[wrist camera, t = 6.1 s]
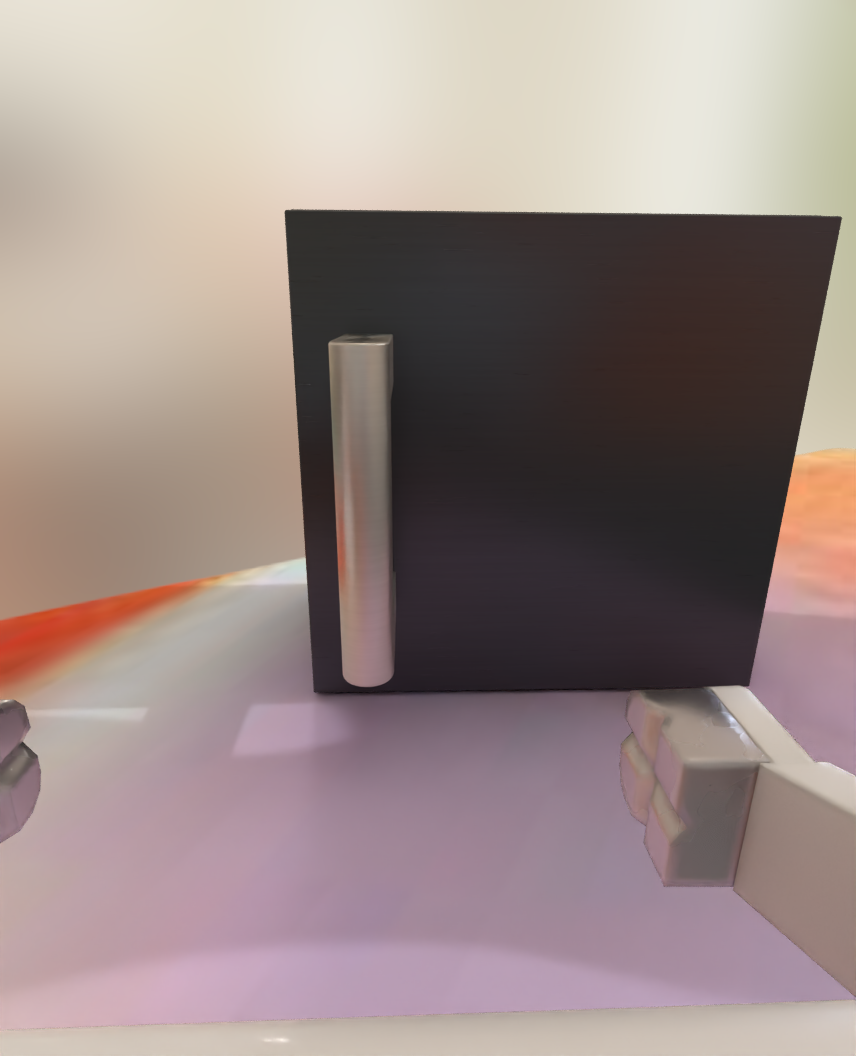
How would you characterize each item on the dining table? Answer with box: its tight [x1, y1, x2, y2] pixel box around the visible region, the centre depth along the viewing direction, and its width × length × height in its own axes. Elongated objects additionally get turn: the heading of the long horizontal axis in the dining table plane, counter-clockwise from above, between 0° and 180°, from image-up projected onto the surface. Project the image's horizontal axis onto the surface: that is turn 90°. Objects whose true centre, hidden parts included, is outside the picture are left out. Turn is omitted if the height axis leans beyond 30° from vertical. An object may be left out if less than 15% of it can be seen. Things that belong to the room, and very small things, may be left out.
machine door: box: [285, 210, 842, 692], centre depth 21 cm, size 6×18×17 cm, turn 92°
